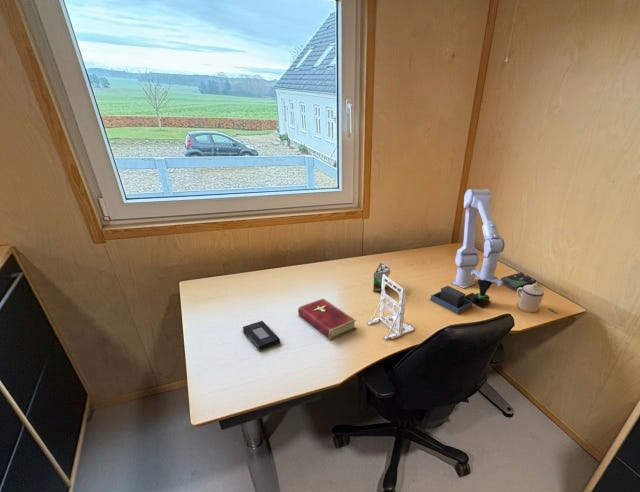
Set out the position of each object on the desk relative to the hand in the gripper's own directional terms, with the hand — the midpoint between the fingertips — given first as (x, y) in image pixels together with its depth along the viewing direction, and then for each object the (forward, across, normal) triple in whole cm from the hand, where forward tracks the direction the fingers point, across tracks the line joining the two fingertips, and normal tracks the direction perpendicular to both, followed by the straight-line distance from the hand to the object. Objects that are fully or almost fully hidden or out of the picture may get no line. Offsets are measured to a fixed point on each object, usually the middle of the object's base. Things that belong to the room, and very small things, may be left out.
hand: (482, 294), depth 158 cm
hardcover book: (+5, -29, -62) cm, 69 cm away
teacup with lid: (+5, +14, +14) cm, 21 cm away
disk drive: (+5, 0, +32) cm, 33 cm away
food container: (+5, -37, -26) cm, 45 cm away
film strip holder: (+4, -11, -44) cm, 46 cm away
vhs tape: (+4, -35, -86) cm, 93 cm away
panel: (+4, -2, 0) cm, 5 cm away
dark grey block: (+4, -8, -11) cm, 14 cm away
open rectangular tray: (+4, -8, -11) cm, 14 cm away
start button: (+2, 0, 0) cm, 2 cm away
